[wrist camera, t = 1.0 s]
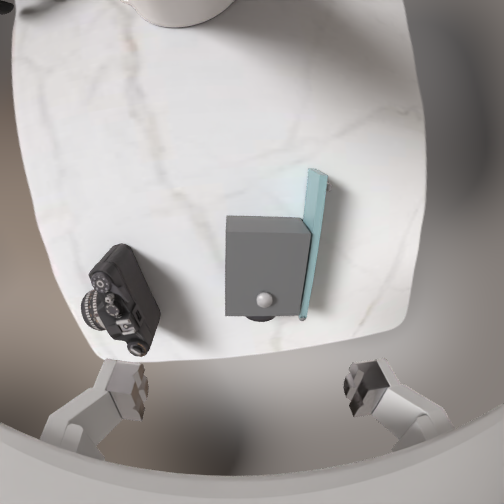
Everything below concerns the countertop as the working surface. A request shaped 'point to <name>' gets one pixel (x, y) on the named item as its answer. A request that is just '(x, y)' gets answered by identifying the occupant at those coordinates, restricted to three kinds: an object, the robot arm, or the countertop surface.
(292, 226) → the camera housing
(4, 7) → the milk frother
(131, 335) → the camera
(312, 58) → the countertop surface
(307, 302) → the side door
